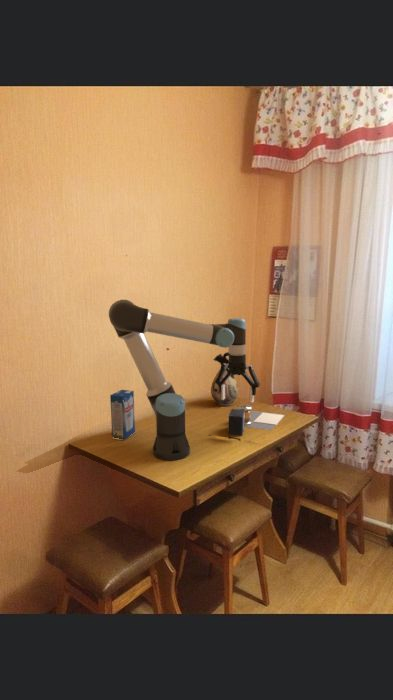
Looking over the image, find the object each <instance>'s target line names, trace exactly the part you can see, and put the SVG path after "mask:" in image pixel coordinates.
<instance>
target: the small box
mask: <svg viewBox="0 0 393 700" xmlns="http://www.w3.org/2000/svg"><path fill="white" fill-rule="evenodd" d="M244 422H245V410H239V409H238V408H237V409H236V408H232V409H231V410H230V412H229V414H228V432H227V433H228V434H227V435H228V437H227V438H228V439H235V440H236V439H238V440H240V437H242V436H243V434H244V432H245V431H244V430H245V426H244ZM235 436H236V437H235ZM237 436H238V437H239V438H238V437H237Z"/></svg>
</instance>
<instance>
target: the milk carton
mask: <svg viewBox="0 0 393 700" xmlns="http://www.w3.org/2000/svg"><path fill="white" fill-rule="evenodd" d="M109 396H110V397H109V398H110V418H111V422H110V423H111V438H112V437H114V438H119V439H126V438H127V437H129V436H130V435H131V434H133V433H134V432H135V433H136V420H135V395H134V390H129V389H120V390H118V391H116V392H114V393H112V394H110V395H109ZM135 433H134V434H135ZM134 434H133V435H134ZM131 436H132V435H131ZM131 436H130V437H131ZM130 437H129V438H130ZM127 439H128V438H127ZM127 439H126V440H127Z"/></svg>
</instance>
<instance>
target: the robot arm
mask: <svg viewBox="0 0 393 700" xmlns="http://www.w3.org/2000/svg"><path fill="white" fill-rule="evenodd" d="M108 319H109V321H110V324H111V325H112V326H113V328H114V330H115V332H116V335H117V336H118V338H119V339H122V340H123V341H124V342H125V345H126V347H127V349H128V352H129V353H130V355H131V357H132V360H133V361H134V364H135V366H136V368H137V370H138V373H139V374H140V377H141V378H142V381H143V382H144V385H145V387H146V388H147V392H146V394H145V395H146V397H147V400H148V401H149V404H150V406H151V408H152V410H153V412H154V415H155V421H156V423H155V425H156V426H155V429H156V436H155V440H154V444H153V446H152V456H153V457H154V458H156V459H158V460H164V461H177V460H182V459H184V458H186V457H188V456H190V454H191V447H190V444H189V440H188V437H187V435H186V403H185V397H183V396H182V395H180V394H177V393H176V391H175V389H174V386H173V384H172V383H171V382H170V381H167V380H166V378H165V376H164V375H165V374H164V373H163V372H162V369H161V368H160V365H159V363H158V360H157V358H156V357H155V354H154V352H153V349H152V348H151V345H150V343H149V341H148V339H147V337H146V334H145V333H153V334H158V335H162V336H163V335H164V336H167V337H174V338H177V339H178V338H179V339H183V340H189V341H192V342H193V341H194V342H198V343H203V344H209V345H212V346H217V347H220V348H223V349H224V348H225V349H227V348H228V349H227V350H228V351H227V352H228V353H229V356H228V360H229V364H226V363H224V364H222V368H221V367H220V368H221V371H220V373H219V375H218V377H217V379H216V381H215V383H216V384H219V391H220V392H221V400H224V399H225V385H224V382H225V381H226V380H227V379H228V378H229V376H230V375H231V374H233V375H234V376H236V375H237V376H242V377H243V378H244V380H245V381H246V382H247V383H248V384H249V386H250V389H249V393H250V394H249V397H250V399H249V401H250V402H249V403H250V404H253V403H254V402H255V396H256V395H257V388H259V387H260V386H261V383H260V381H259V379H258V377H257V375H256V373H255V371H254V365H252V364H250V365H247V364H246V363H247V360H246V359H247V358H246V357H247V355H246V346H247V345H246V344H247V343H246V337H247V335H246V333H247V332H246V331H247V328H246V327H247V326H246V320H245V319H244V318H241V317H240V318H239V317H235V318H229V319H228V320H227V323H214V324H211V323H204V322H198V321H195V320H194V321H193V320H191V319H184V318H180V317H175V316H170V315H165V314H159V313H155V312H151V311H150V309H149V308H145V307H141V306H139V305H136V304H134V302H132V301H131V300H127V299H120V300H117V301H114V302H113V303H112V304H111V306H110V307H109V309H108ZM227 367H228V369H229V370H230V371H229V372H228V373H227V375H226V376H225V377H224V378H223V379H222V381H220V380H221V378H222V376H223V374H224V372H225V370H226V368H227ZM246 370H247V371H248V372H249V375H250V376H249V375H248V372H247V371H246Z"/></svg>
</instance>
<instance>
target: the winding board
mask: <svg viewBox="0 0 393 700" xmlns="http://www.w3.org/2000/svg"><path fill="white" fill-rule="evenodd" d="M285 416H286V415H285V414H282V413H281V414H280V413H273V412H266V411H259V410H258V411H257V410H250V420H252V424H251V425H244V427H248V428H255V429H259V430H260V429H262V430H268V431H273V430H274V429H275V427H277V425H278V424H279V423H280V422H281V421H282V420H283V418H284V417H285Z"/></svg>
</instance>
